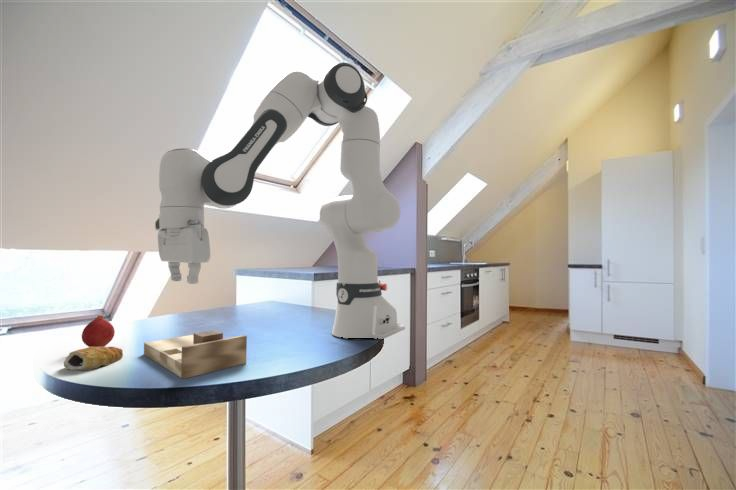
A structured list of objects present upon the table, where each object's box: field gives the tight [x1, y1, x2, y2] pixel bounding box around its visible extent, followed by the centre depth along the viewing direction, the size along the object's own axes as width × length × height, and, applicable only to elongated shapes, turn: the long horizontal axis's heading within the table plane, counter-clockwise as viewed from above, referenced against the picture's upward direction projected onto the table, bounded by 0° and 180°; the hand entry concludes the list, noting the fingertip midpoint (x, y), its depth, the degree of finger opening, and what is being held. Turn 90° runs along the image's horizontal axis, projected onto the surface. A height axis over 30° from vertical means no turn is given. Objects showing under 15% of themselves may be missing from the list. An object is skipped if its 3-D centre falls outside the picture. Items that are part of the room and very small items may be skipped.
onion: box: [81, 314, 115, 348], centre depth 78 cm, size 6×6×8 cm
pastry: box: [63, 346, 124, 371], centre depth 69 cm, size 9×7×4 cm
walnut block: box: [193, 329, 224, 344], centre depth 68 cm, size 4×4×4 cm
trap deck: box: [143, 334, 248, 380], centre depth 73 cm, size 12×22×6 cm, turn 48°
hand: (184, 282), depth 78 cm, fingers open, 8 cm apart
